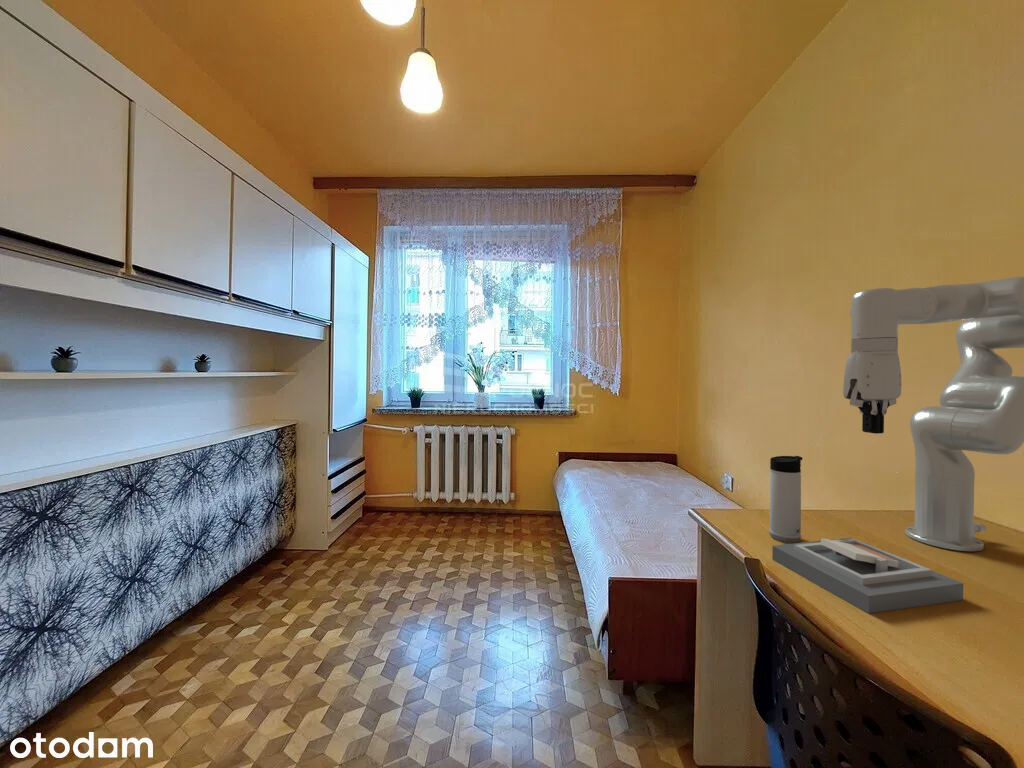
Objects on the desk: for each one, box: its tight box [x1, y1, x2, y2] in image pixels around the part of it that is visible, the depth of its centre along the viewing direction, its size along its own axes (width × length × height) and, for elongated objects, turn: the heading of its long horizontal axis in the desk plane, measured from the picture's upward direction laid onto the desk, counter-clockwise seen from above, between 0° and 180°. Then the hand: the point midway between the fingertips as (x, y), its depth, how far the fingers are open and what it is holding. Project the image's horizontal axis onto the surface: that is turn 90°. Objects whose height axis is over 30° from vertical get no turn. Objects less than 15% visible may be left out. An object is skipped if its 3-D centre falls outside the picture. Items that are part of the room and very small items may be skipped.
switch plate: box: [771, 537, 964, 614], centre depth 79 cm, size 20×20×6 cm
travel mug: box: [769, 455, 803, 544], centre depth 98 cm, size 6×7×20 cm
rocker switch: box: [820, 538, 899, 568], centre depth 79 cm, size 10×7×1 cm
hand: (872, 432), depth 88 cm, fingers closed
